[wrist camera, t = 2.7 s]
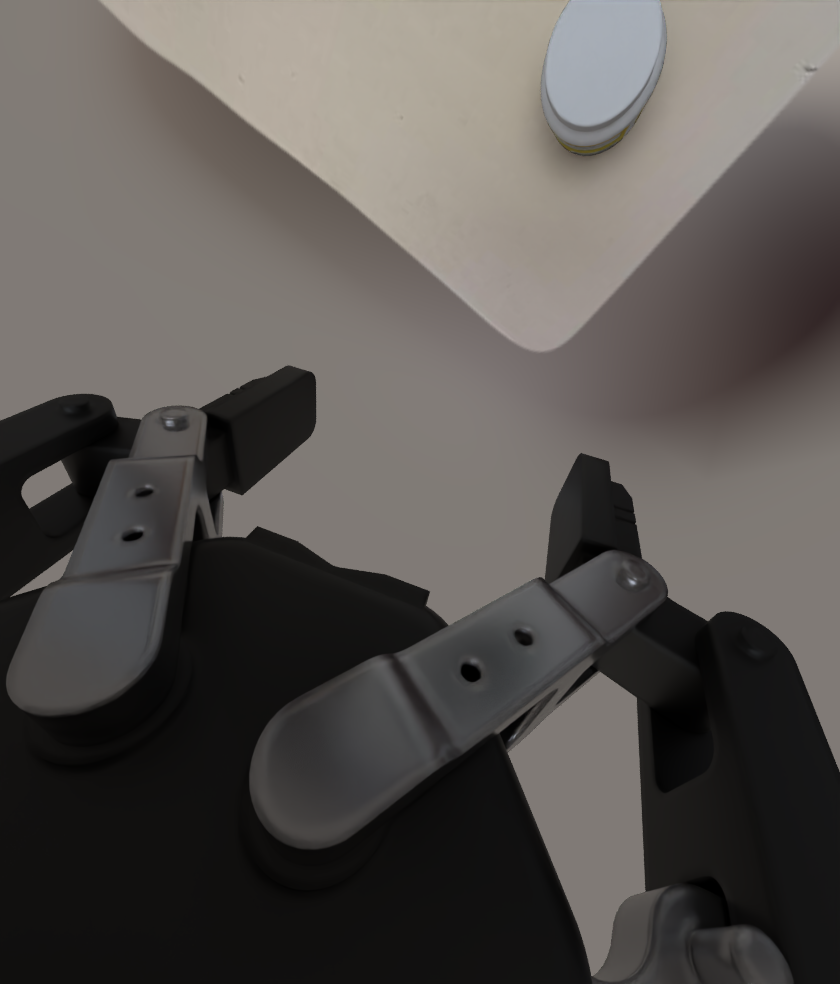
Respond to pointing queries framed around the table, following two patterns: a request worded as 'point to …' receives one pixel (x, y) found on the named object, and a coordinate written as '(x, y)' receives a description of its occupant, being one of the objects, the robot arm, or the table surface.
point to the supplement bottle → (601, 70)
